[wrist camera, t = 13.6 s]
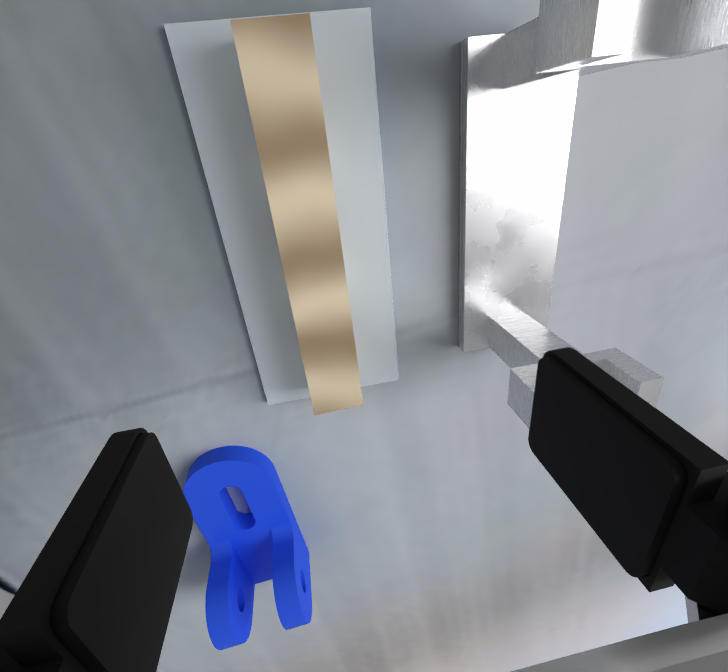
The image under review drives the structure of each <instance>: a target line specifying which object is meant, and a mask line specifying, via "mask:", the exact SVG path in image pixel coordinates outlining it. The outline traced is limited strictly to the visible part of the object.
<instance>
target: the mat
mask: <svg viewBox="0 0 728 672" xmlns="http://www.w3.org/2000/svg"><path fill="white" fill-rule="evenodd" d="M305 13H310V19H311V26H312V33H313V41H314V48H315V55H316V63H317V70H318V77H319V84H320V92H321V99H322V106H323V114H324V121H325V128H326V135H327V143H328V150H329V157H330V164H331V172H332V179H333V186H334V194H335V201H336V208H337V215H338V223H339V230H340V237H341V245H342V252H343V259H344V266H345V274H346V281H347V288H348V295H349V303H350V310H351V317H352V325H353V332H354V339H355V346H356V354H357V361H358V368H359V376H360V383H361V387H365V386H370V385H375V384H380V383H385V382H391V381H396V380H399V373H398V360H397V347H396V334H395V321H394V308H393V295H392V282H391V269H390V256H389V243H388V230H387V217H386V204H385V191H384V178H383V165H382V152H381V139H380V126H379V113H378V100H377V87H376V74H375V61H374V49H373V36H372V23H371V10H370V7H367V8H354V9H342V10H330V11H318V12H305ZM293 14H304V13H293ZM281 15H292V14H281ZM281 15H269V16H281ZM269 16H256V17H244V18H232V19H219V20H207V21H195V22H183V23H170V24H164V27H165V31H166V34H167V38H168V42H169V45H170V49H171V53H172V56H173V60H174V64H175V67H176V71H177V75H178V78H179V82H180V85H181V89H182V93H183V96H184V100H185V104H186V107H187V111H188V115H189V118H190V122H191V126H192V129H193V133H194V137H195V140H196V144H197V147H198V151H199V155H200V158H201V162H202V166H203V169H204V173H205V177H206V180H207V184H208V188H209V191H210V195H211V198H212V202H213V206H214V209H215V213H216V217H217V220H218V224H219V228H220V231H221V235H222V239H223V242H224V246H225V249H226V253H227V257H228V260H229V264H230V268H231V271H232V275H233V279H234V282H235V286H236V290H237V293H238V297H239V300H240V304H241V308H242V311H243V315H244V319H245V322H246V326H247V330H248V333H249V337H250V341H251V344H252V348H253V352H254V355H255V359H256V362H257V366H258V370H259V373H260V377H261V381H262V384H263V388H264V392H265V395H266V399H267V403H268V405H272V404H277V403H282V402H287V401H293V400H298V399H303V398H308V397H310V392H309V387H308V383H307V378H306V373H305V369H304V364H303V359H302V355H301V350H300V345H299V341H298V336H297V331H296V326H295V322H294V317H293V312H292V308H291V303H290V298H289V294H288V289H287V284H286V280H285V275H284V270H283V266H282V261H281V256H280V252H279V247H278V242H277V238H276V233H275V228H274V224H273V219H272V214H271V210H270V205H269V200H268V195H267V191H266V186H265V181H264V177H263V172H262V167H261V163H260V158H259V153H258V149H257V144H256V139H255V135H254V130H253V125H252V121H251V116H250V111H249V107H248V102H247V97H246V93H245V88H244V83H243V78H242V74H241V69H240V64H239V60H238V55H237V50H236V46H235V41H234V36H233V32H232V27H231V22H230V20H235V19H246V18H258V17H269Z"/></svg>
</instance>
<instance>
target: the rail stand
mask: <svg viewBox="0 0 728 672" xmlns="http://www.w3.org/2000/svg"><path fill="white" fill-rule="evenodd" d="M727 47H728V0H540V10H539V17H537V18H535V19H533V20H531V21H529V22H527V23H525V24H523V25H521V26H520V27H518V28H516V29H514V30H512V31H510V32H508V33H506V34H496V35H485V36H474V37H468V38H466V39H464V40H463V41H461V74H460V205H459V336H458V347H459V348H460V349H461V350H462V351H463V352H469V351H474V350H480V349H485V348H491V349H492V350H493V351H494V352H495V353H496V354H497V355H498V356H499V357H500V358H501V359H502V360H503V361H504V362H505V363H506V364H507V365H508V366H509V367H510V368H511V369H510V379H509V392H508V405H509V406H510V407H511V408H512V409H513V411H514V412H515V413H516V414H517V415H518V416H519V418H520V419H521V420H522V421H523V422H524V423H525V424H526V426H527V427H528V428H529V429H530V421H531V414H532V406H533V398H534V390H535V382H536V374H537V366H538V361H539V360H540V359H541V358H543V356H544V354H545V352H547V351H550V350H555V349H561V348H566V347H571V348H573V349H575V348H574V347H572V346H571V345H570V344H568V343H567V342H565V341H564V340H562V339H561V338H560V337H558V336H557V335H555V334H554V333H552V332H551V331H550V330H548V329H547V322H548V314H549V306H550V299H551V291H552V283H553V275H554V267H555V259H556V251H557V243H558V235H559V227H560V219H561V211H562V203H563V195H564V187H565V179H566V171H567V163H568V155H569V147H570V139H571V131H572V123H573V115H574V107H575V99H576V91H577V83H578V76H582V75H586V74H591V73H595V72H599V71H603V70H607V69H612V68H616V67H620V66H624V65H629V64H633V63H638V62H648V61H657V60H666V59H676V58H683V57H687V56H692V55H696V54H701V53H705V52H709V51H714V50H718V49H723V48H727ZM575 350H576V351H578V350H577V349H575ZM578 352H579V353H581V352H580V351H578ZM581 354H582V353H581ZM582 355H583V356H585V357H586V358H587V359H589V360H590V361H592V362H593V363H594V364H596V365H597V366H598V367H600V368H601V369H603V370H604V371H605V372H607V373H608V374H609V375H611V376H612V377H613V378H615V379H616V380H618V381H619V382H620V383H622V384H623V385H624V386H626V387H627V388H629V389H630V390H631V391H633V392H634V393H635V394H637V395H638V396H640V397H641V398H642V399H644V400H645V401H646V402H648V403H649V404H650V405H652V406H653V407H656V404H657V400H658V397H659V394H660V390H661V387H662V384H663V380H664V377H662V376H661V375H659V374H657V373H656V372H654V371H652V370H651V369H649V368H648V367H646V366H644V365H643V364H641V363H639V362H638V361H636V360H635V359H633V358H631V357H630V356H628V355H626V354H625V353H623V352H621V351H620V350H618V349H617V348H612V349H607V350H602V351H597V352H592V353H587V354H582Z"/></svg>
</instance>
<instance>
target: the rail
mask: <svg viewBox="0 0 728 672" xmlns="http://www.w3.org/2000/svg"><path fill="white" fill-rule="evenodd" d="M230 22H231V27H232V32H233V36H234V41H235V46H236V50H237V55H238V60H239V64H240V69H241V74H242V78H243V83H244V88H245V93H246V97H247V102H248V107H249V111H250V116H251V121H252V125H253V130H254V135H255V139H256V144H257V149H258V153H259V158H260V163H261V167H262V172H263V177H264V181H265V186H266V191H267V195H268V200H269V205H270V210H271V214H272V219H273V224H274V228H275V233H276V238H277V242H278V247H279V252H280V256H281V261H282V266H283V270H284V275H285V280H286V284H287V289H288V294H289V298H290V303H291V308H292V312H293V317H294V322H295V326H296V331H297V336H298V341H299V345H300V350H301V355H302V359H303V364H304V369H305V373H306V378H307V383H308V387H309V392H310V397H311V401H312V406H313V411H314V415H317V414H322V413H327V412H332V411H337V410H342V409H347V408H352V407H357V406H362V405H363V397H362V390H361V383H360V376H359V368H358V361H357V354H356V346H355V339H354V332H353V325H352V317H351V310H350V303H349V295H348V288H347V281H346V274H345V266H344V259H343V252H342V245H341V237H340V230H339V223H338V215H337V208H336V201H335V194H334V186H333V179H332V172H331V164H330V157H329V150H328V143H327V135H326V128H325V121H324V114H323V106H322V99H321V92H320V84H319V77H318V70H317V63H316V55H315V48H314V41H313V33H312V26H311V19H310V13H304V14H292V15H281V16H269V17H258V18H246V19H235V20H230Z"/></svg>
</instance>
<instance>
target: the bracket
mask: <svg viewBox="0 0 728 672" xmlns="http://www.w3.org/2000/svg"><path fill="white" fill-rule="evenodd" d="M228 486H234V487H237V488H239V489H240V490H241V491H242V493H243V495H244V497H245V499H246V502H247V504H248V506H249V508H250V510H251V512H252V513H248V514H243V513H240V512H238V511H237V509H236V507H235V505H234V503H233V501H232V499H231V497H230V495H229V493H228V491H227V489H226V487H228ZM183 494H184V496H185V498H186V500H187V502H188V504H189V507H190V509H191V511H192V516H193V518H194V520H195V522H196V524H197V525H198V527H199V529H200V530H201V532H202V534H203V535H204V537H205V539H206V540H207V542H208V544H209V546H210V550H211V567H210V572H209V578H208V584H207V590H206V621H207V627H208V632H209V636H210V639H211V641H212V643H213V645H214V646H215V648H216V649H218V650H223V649H226V648H229V647H233V646H236V645H239V644H242V643H245V642H246V641H247V639H248V637H249V634H250V631H251V625H252V614H253V600H254V586H255V584H257V583H260V582H264V581H267V580H270V579H273V588H274V596H275V602H276V607H277V611H278V615H279V618H280V621H281V624H282V626H283V627H284V628H285V629H286V630H288V629H291V628H295V627H298V626H301V625H304V624H308V623H310V621H311V616H312V597H311V580H310V562H309V551H308V548H307V546H306V544H305V541H304V539H303V536H302V534H301V531H300V529H299V526H298V524H297V521H296V519H295V516H294V514H293V512H292V509H291V507H290V504H289V502H288V499H287V497H286V494H285V492H284V489H283V487H282V484H281V482H280V480H279V477H278V475H277V472H276V470H275V467H274V465H273V464H272V462H271V461H270V460H269V458H267V457H266V456H265V455H264V454H262V453H261V452H259V451H257V450H254V449H251V448H248V447H242V446H225V447H220V448H216V449H213V450H211V451H208V452H206V453H205V454H203V455H202V456H200V457H199V458H198V459H197V460H196V461H195V462H194V463H193V464H192V466H191V468H190V470H189V473H188V476H187V479H186V483H185V486H184V490H183Z"/></svg>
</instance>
